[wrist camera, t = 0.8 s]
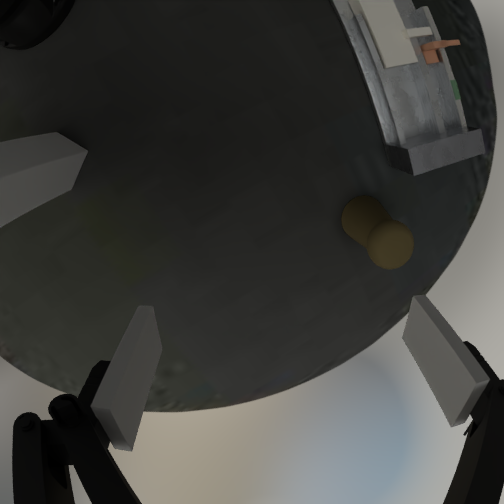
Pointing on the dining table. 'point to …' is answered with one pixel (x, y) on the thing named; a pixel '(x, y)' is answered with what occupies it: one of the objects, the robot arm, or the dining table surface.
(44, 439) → the robot arm
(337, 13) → the gauge housing
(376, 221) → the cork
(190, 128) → the dining table surface
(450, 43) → the brown l-shaped block
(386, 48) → the plunger
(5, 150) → the milk
